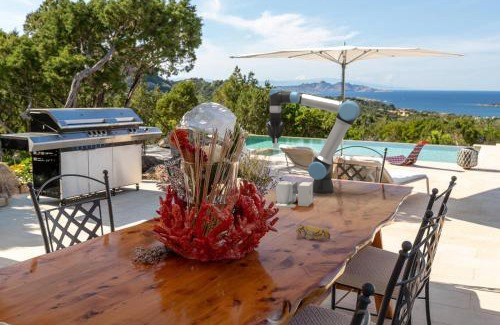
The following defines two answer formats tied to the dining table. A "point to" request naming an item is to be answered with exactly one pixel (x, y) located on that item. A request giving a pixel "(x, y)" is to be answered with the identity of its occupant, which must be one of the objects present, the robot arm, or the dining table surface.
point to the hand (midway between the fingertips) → (275, 148)
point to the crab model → (312, 232)
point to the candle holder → (282, 192)
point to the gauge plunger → (292, 192)
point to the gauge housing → (302, 195)
